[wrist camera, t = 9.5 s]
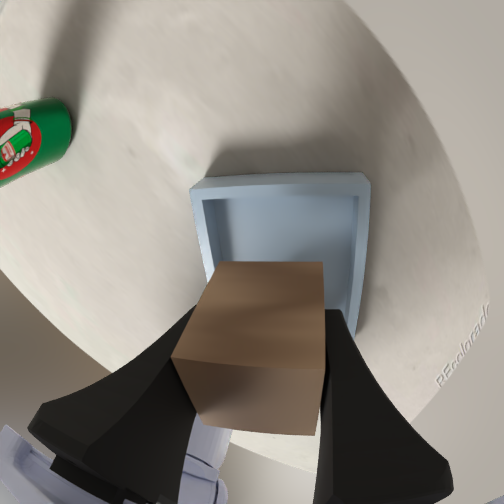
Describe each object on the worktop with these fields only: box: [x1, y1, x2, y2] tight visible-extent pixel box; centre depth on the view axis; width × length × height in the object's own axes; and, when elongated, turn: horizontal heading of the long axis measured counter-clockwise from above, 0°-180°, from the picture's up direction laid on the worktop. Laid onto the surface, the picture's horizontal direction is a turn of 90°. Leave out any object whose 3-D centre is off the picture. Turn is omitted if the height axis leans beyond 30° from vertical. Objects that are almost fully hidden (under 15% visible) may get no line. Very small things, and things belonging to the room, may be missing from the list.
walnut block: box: [171, 261, 325, 436], centre depth 10 cm, size 4×4×5 cm
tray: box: [189, 172, 371, 340], centre depth 18 cm, size 13×9×2 cm
